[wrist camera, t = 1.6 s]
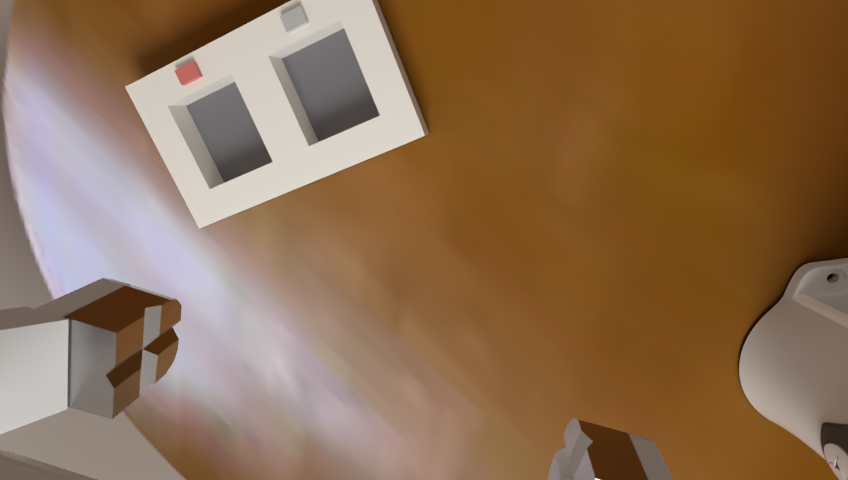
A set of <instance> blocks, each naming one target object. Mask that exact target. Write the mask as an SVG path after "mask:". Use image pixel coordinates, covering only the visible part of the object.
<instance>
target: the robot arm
mask: <svg viewBox="0 0 848 480" xmlns="http://www.w3.org/2000/svg"><path fill="white" fill-rule="evenodd" d="M832 273H833V276H832V277H831V278H830V279H828V280H827V277H828V275H830V274H832ZM180 320H181V304H180V303H179V302H178V300H176V299H173V298H170V297H167V296H164V295H161V294H158V293H155V292H151V291H148V290H145V289H142V288H139V287H136V286H131V285H130V284H127V283H123V282H120V281H116V280H113V279H105V278H102V279H100V280H98V281H95V282H93V283H91V284H89V285H87V286H84V287H82V288H80V289H78V290H75V291H73V292H71V293H69V294H66V295H64V296H62V297H60V298H58V299H55V300H53V301H51V302H49V303H47V304H44V305H42V306H40V307H37V308H35V309H33V308H30V307H20V308H12V309H3V310H0V434H2V433H5V432H7V431H10V430H13V429H15V428H18V427H21V426H23V425H26V424H29V423H31V422H34V421H37V420H39V419H42V418H44V417H47V416H50V415H53V414H55V413H58V412H61V411H63V410H66V409H67V408H68V407H71V408H75V409H78V410H82V411H85V412H89V413H93V414H96V415H100V416H103V417H107V418H110V419H113V418H114V417H115V416H117V415H118V414H119V413H120V412H121V411H123V410H124V409H125V408H126V407H127V406H129V405H130V404H131V403H132V402H133V401H135V400H136V399H137V398H138V397H139V389H140V387H143V386H147V385H150V384H154V383H156V382H157V381H158V380H159V379H160V378H161V377H163V376H164V375H165V374H166V372H167V371H168V369H169V368H170V366H171V365H172V363H173V361H174V359H175V356H176V353H177V349H178V340H179V339H178V337H177V335H176V333H175V331H174V329H173V326H175V325H176V324H177V323H178V322H179V321H180ZM739 375H740V381H741V385H742V388H743V390H744V393H745V395H746V397H747V398H748V400H749V401H750V403H751V404H752V405H753V407H754V408H755V409H756V410H757V411H758V412H760V413H761V414H762V415H763V416H764V417H766V418H767V419H769V420H770V421H772V422H774V423H776V424H778V425H780V426H781V427H783V428H785V429H786V430H788V431H789V432H791V433H792V434H794V435H795V436H796V437H798V438H799V439H800V440H802V441H803V442H804V443H806V444H807V445H808V446H809V447H811V448H812V449H813V450H814V451H815V452H817V453H818V454H819V455H820V456H821V457H823V458H824V459H825V460H826V461H827V463H828V465H829V466H830V468H831V469H832V470H833V472H834V473H835V475H836V476H837V477H838V479H839V480H848V258H843V259H835V260H827V261H819V262H811V263H807V264H805V265H803V266H801V267H800V268H799V269H798V270H797V271H796V272H795V274H794V275H793V277H792V279H791V280H790V282H789V284H788V287H787V289H786V291H785V293H784V295H783V297H782V298H781V300H780V301H779V302H778V303H777V304H776V305H775V306H774V307H773V308H772V309H771V310H770V311H768V312H767V313H766V314H765V315H764V316H763V317H762V318H761V319H760V320H759V322H758V323H757V324H756V325H755V327H754V328H753V329H752V331H751V332H750V334H749V336H748V337H747V339H746V341H745V344H744V346H743V349H742V352H741V356H740V363H739ZM563 435H564V440H565V444H566V447H565V448H563V449H561V450H560V451H558V452H556V453H555V456H554V459H553V461H552V464H551V466H550V472H549V477H548V480H674V479H673V477H672V475H671V473H670V471H669V469H668V467H667V465H666V463H665V461H664V459H663V457H662V455H661V453H660V451H659V449H658V447H657V445H656V443H655V442H654V441H652V440H651V439H650V438H646V437H642V436H638V435H634V434H630V433H627V432H622V431H618V430H614V429H611V428H607V427H603V426H600V425H596V424H592V423H589V422H585V421H581V420H578V419H574V418H572V420H571V421H570V422H569V424H568V425H567V428H566V430H565V432H564V434H563ZM0 480H96V479H93V478H90V477H87V476H84V475H81V474H77V473H75V472H71V471H68V470H65V469H62V468H59V467H56V466H53V465H50V464H46V463H43V462H40V461H37V460H34V459H31V458H27V457H25V456H22V455H18V454H15V453H12V452H9V451H6V450H3V449H0Z"/></svg>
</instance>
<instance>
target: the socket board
mask: <svg viewBox="0 0 848 480" xmlns="http://www.w3.org/2000/svg"><path fill="white" fill-rule="evenodd" d="M125 88H126V90H127V92H128V93H129V95H130V97H131V99H132V101H133V103H134V105H135V107H136V109H137V111H138V113H139V114H140V116H141V118H142V120H143V122H144V124H145V126H146V128H147V130H148V132H149V134H150V135H151V137H152V139H153V141H154V143H155V145H156V147H157V149H158V151H159V153H160V155H161V156H162V158H163V160H164V162H165V164H166V166H167V168H168V170H169V172H170V174H171V176H172V177H173V179H174V181H175V183H176V185H177V187H178V189H179V191H180V193H181V195H182V197H183V198H184V200H185V202H186V204H187V206H188V208H189V210H190V212H191V214H192V216H193V218H194V219H195V221H196V223H197V225H198V227H199V228H202V227H204V226H207V225H209V224H211V223H214V222H216V221H219V220H221V219H224V218H226V217H228V216H231V215H233V214H236V213H238V212H241V211H243V210H245V209H248V208H250V207H253V206H255V205H258V204H260V203H262V202H265V201H267V200H270V199H272V198H275V197H277V196H279V195H282V194H284V193H287V192H289V191H292V190H294V189H297V188H299V187H301V186H304V185H306V184H309V183H311V182H314V181H316V180H318V179H321V178H323V177H326V176H328V175H331V174H333V173H335V172H338V171H340V170H343V169H345V168H348V167H350V166H352V165H355V164H357V163H360V162H362V161H365V160H367V159H369V158H372V157H374V156H377V155H379V154H382V153H384V152H386V151H389V150H391V149H394V148H396V147H399V146H401V145H404V144H406V143H408V142H411V141H413V140H416V139H418V138H421V137H423V136H425V135H427V134H430V132H429V130H428V127H427V124H426V122H425V119H424V117H423V114H422V112H421V109H420V106H419V104H418V101H417V99H416V96H415V94H414V91H413V88H412V86H411V83H410V81H409V78H408V76H407V73H406V70H405V68H404V65H403V63H402V60H401V58H400V55H399V53H398V50H397V47H396V45H395V42H394V40H393V37H392V35H391V32H390V29H389V27H388V24H387V22H386V19H385V17H384V14H383V11H382V9H381V6H380V4H379V1H378V0H291V1H289V2H287V3H285V4H283V5H281V6H279V7H277V8H276V9H274V10H272V11H270V12H268V13H266V14H264V15H262V16H260V17H258V18H256V19H254V20H253V21H251V22H249V23H247V24H245V25H243V26H241V27H239V28H237V29H235V30H233V31H231V32H230V33H228V34H226V35H224V36H222V37H220V38H218V39H216V40H214V41H212V42H210V43H209V44H207V45H205V46H203V47H201V48H199V49H197V50H195V51H193V52H191V53H189V54H187V55H186V56H184V57H182V58H180V59H178V60H176V61H174V62H172V63H170V64H168V65H166V66H164V67H163V68H161V69H159V70H157V71H155V72H153V73H151V74H149V75H147V76H145V77H143V78H141V79H140V80H138V81H136V82H134V83H132V84H130V85H128V86H126V87H125Z"/></svg>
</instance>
